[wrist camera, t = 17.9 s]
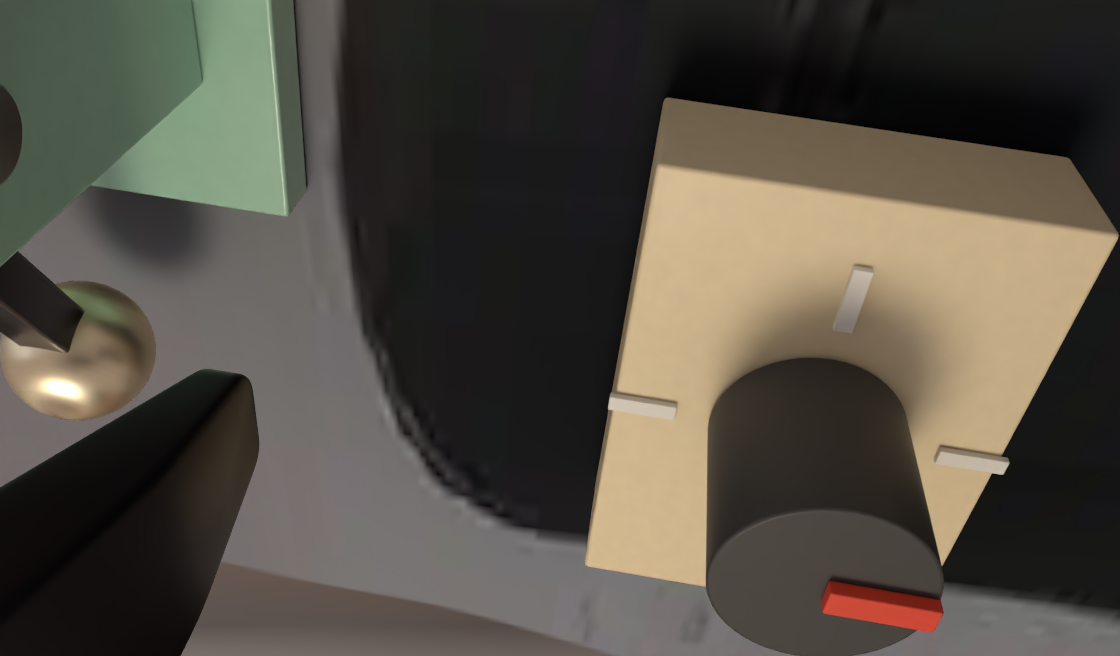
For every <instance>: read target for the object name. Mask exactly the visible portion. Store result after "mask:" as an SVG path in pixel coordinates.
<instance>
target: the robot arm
mask: <svg viewBox="0 0 1120 656" xmlns="http://www.w3.org/2000/svg"><path fill="white" fill-rule="evenodd" d="M258 452H259V436H258V428H257V420H256V412H255V404H254V396H253V389H252V385H251V383H250V381H249V379H248V378H247V377H246V376H244V375H242V374H237V373H231V372H225V371H219V370H212V369H203V370H200V371H197V372H195V373H193V374H192V375H190V376H188V377H187V378H185V379H183V380H181V381H180V382H178V383H176V384H175V385H173V386H171V387H170V388H168V389H166V390H165V391H163V392H161V393H159V394H158V395H156V396H154V397H153V398H151V399H149V400H148V401H146V402H144V403H143V404H141V405H139V406H137V407H136V408H134V409H132V410H131V411H129V412H127V413H126V414H124V415H122V416H120V417H119V418H117V419H115V420H114V421H112V422H110V423H109V424H107V425H105V426H104V427H102V428H100V429H98V430H97V431H95V432H93V433H92V434H90V435H88V436H87V437H85V438H83V439H82V440H80V441H78V442H76V443H75V444H73V445H71V446H70V447H68V448H66V449H65V450H63V451H61V452H59V453H58V454H56V455H54V456H53V457H51V458H49V459H48V460H46V461H44V462H43V463H41V464H39V465H37V466H36V467H34V468H32V469H31V470H29V471H27V472H26V473H24V474H22V475H21V476H19V477H17V478H15V479H14V480H12V481H10V482H9V483H7V484H5V485H4V486H2V487H0V656H181V654H182V652H183V650H184V648H185V646H186V644H187V642H188V640H189V638H190V636H191V634H192V631H193V629H194V627H195V625H196V623H197V621H198V619H199V616H200V614H201V612H202V609H203V607H204V604H205V601H206V599H207V596H208V594H209V591H210V589H211V586H212V583H213V581H214V578H215V575H216V572H217V570H218V567H219V564H220V562H221V559H222V556H223V553H224V551H225V548H226V545H227V543H228V540H229V537H230V534H231V532H232V529H233V526H234V523H235V521H236V518H237V515H238V512H239V510H240V507H241V504H242V502H243V499H244V496H245V493H246V491H247V488H248V485H249V482H250V480H251V477H252V474H253V472H254V469H255V466H256V462H257V458H258Z"/></svg>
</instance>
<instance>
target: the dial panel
mask: <svg viewBox="0 0 1120 656" xmlns="http://www.w3.org/2000/svg"><path fill="white" fill-rule="evenodd" d="M1117 240H1118V232H1117V231H1116V229H1115V227H1114V226H1113V224H1112V223H1111V221H1110V220H1109V218H1108V217H1107V215H1106V214H1105V212H1104V211H1103V209H1102V208H1101V206H1100V204H1099V203H1098V201H1097V200H1096V198H1095V197H1094V195H1093V194H1092V192H1091V191H1090V189H1089V188H1088V186H1087V184H1086V183H1085V181H1084V180H1083V178H1082V177H1081V175H1080V174H1079V172H1078V171H1077V169H1076V168H1075V166H1074V164H1073V163H1072V161H1071V160H1070V159H1069V158H1067V157H1061V156H1054V155H1048V154H1041V153H1034V152H1028V151H1021V150H1014V149H1008V148H1001V147H994V146H987V145H981V144H974V143H967V142H961V141H954V140H947V139H941V138H934V137H927V136H921V135H914V134H907V133H901V132H894V131H887V130H881V129H874V128H867V127H861V126H854V125H847V124H841V123H834V122H827V121H821V120H814V119H807V118H801V117H794V116H787V115H781V114H774V113H767V112H761V111H754V110H747V109H741V108H734V107H727V106H721V105H714V104H707V103H701V102H694V101H687V100H681V99H674V98H665V100H664V101H663V107H662V112H661V118H660V124H659V129H658V135H657V141H656V146H655V152H654V157H653V163H652V169H651V174H650V180H649V186H648V191H647V197H646V202H645V208H644V214H643V219H642V225H641V231H640V236H639V242H638V248H637V253H636V259H635V264H634V270H633V276H632V281H631V287H630V293H629V298H628V304H627V309H626V315H625V321H624V326H623V332H622V338H621V343H620V349H619V354H618V360H617V366H616V371H615V377H614V383H613V388H612V393H610V398H609V404H608V410H609V411H608V416H607V422H606V428H605V433H604V439H603V444H602V450H601V456H600V461H599V467H598V473H597V478H596V485H595V492H594V499H593V506H592V513H591V520H590V528H589V535H588V542H587V549H586V556H585V564H586V566H589V567H595V568H601V569H606V570H612V571H618V572H624V573H629V574H635V575H641V576H647V577H653V578H658V579H664V580H670V581H676V582H682V583H687V584H693V585H699V586H705V587H706V518H707V439H708V423H709V418H710V415H711V413H712V410H713V408H714V406H715V405H716V403H717V401H718V400H719V398H720V397H721V396H722V394H723V393H724V392H725V391H726V390H727V389H728V388H729V387H730V386H731V385H732V384H733V383H734V382H736V381H737V380H739V379H740V378H741V377H743V376H744V375H746V374H748V373H750V372H751V371H753V370H755V369H758V368H760V367H763V366H765V365H768V364H771V363H775V362H778V361H783V360H789V359H797V358H824V359H832V360H837V361H842V362H846V363H849V364H852V365H855V366H858V367H860V368H862V369H864V370H866V371H868V372H870V373H872V374H873V375H875V376H876V377H878V378H879V379H880V380H882V381H883V382H884V383H885V384H886V385H888V386H889V387H890V388H891V390H892V391H893V392H894V393H895V394H896V395H897V397H898V399H899V400H900V402H901V403H902V406H903V408H904V410H905V413H906V417H907V421H908V425H909V430H910V434H911V438H912V442H913V447H914V451H915V455H916V459H917V463H918V468H919V472H920V476H921V480H922V485H923V489H924V493H925V497H926V502H927V506H928V510H929V514H930V519H931V523H932V527H933V531H934V535H935V540H936V544H937V548H938V552H939V557H940V561H941V565H943V563H944V562H945V560H946V558H947V556H948V554H949V552H950V550H951V549H952V547H953V545H954V543H955V541H956V539H957V537H958V536H959V534H960V532H961V530H962V528H963V526H964V524H965V523H966V521H967V519H968V517H969V515H970V513H971V511H972V509H973V508H974V506H975V504H976V502H977V500H978V498H979V496H980V495H981V493H982V491H983V489H984V487H985V485H986V483H987V482H988V480H989V478H990V476H991V474H992V473H995V474H1001V475H1003V474H1004V472H1005V470H1006V468H1007V467H1008V465H1009V460H1008V458H1006V457H1001V456H1002V454H1003V452H1004V450H1005V448H1006V446H1007V444H1008V442H1009V441H1010V439H1011V437H1012V435H1013V433H1014V431H1015V429H1016V428H1017V426H1018V424H1019V422H1020V420H1021V418H1022V416H1023V415H1024V413H1025V411H1026V409H1027V407H1028V405H1029V403H1030V402H1031V400H1032V398H1033V396H1034V394H1035V392H1036V390H1037V389H1038V387H1039V385H1040V383H1041V381H1042V379H1043V377H1044V375H1045V374H1046V372H1047V370H1048V368H1049V366H1050V364H1051V362H1052V361H1053V359H1054V357H1055V355H1056V353H1057V351H1058V349H1059V348H1060V346H1061V344H1062V342H1063V340H1064V338H1065V336H1066V335H1067V333H1068V331H1069V329H1070V327H1071V325H1072V323H1073V322H1074V320H1075V318H1076V316H1077V314H1078V312H1079V310H1080V308H1081V307H1082V305H1083V303H1084V301H1085V299H1086V297H1087V295H1088V294H1089V292H1090V290H1091V288H1092V286H1093V284H1094V282H1095V281H1096V279H1097V277H1098V275H1099V273H1100V271H1101V269H1102V268H1103V266H1104V264H1105V262H1106V260H1107V258H1108V256H1109V255H1110V253H1111V251H1112V249H1113V247H1114V245H1115V243H1116V241H1117Z"/></svg>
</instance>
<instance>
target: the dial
mask: <svg viewBox="0 0 1120 656" xmlns="http://www.w3.org/2000/svg"><path fill="white" fill-rule="evenodd" d="M943 588H944V575H943V570H942V565H941V561H940V557H939V552H938V548H937V544H936V540H935V535H934V531H933V527H932V523H931V519H930V514H929V510H928V506H927V502H926V497H925V493H924V489H923V485H922V480H921V476H920V472H919V468H918V463H917V459H916V455H915V451H914V447H913V442H912V438H911V434H910V430H909V425H908V421H907V417H906V413H905V410H904V408H903V406H902V403H901V402H900V400H899V399H898V397H897V395H896V394H895V393H894V392H893V391H892V390H891V388H890V387H889V386H888V385H886V384H885V383H884V382H883V381H882V380H880V379H879V378H878V377H876V376H875V375H873V374H872V373H870V372H868V371H866V370H864V369H862V368H860V367H858V366H855V365H852V364H849V363H846V362H842V361H837V360H832V359H824V358H797V359H789V360H783V361H778V362H775V363H771V364H768V365H765V366H763V367H760V368H758V369H755V370H753V371H751V372H750V373H748V374H746V375H744V376H743V377H741V378H740V379H739V380H737V381H736V382H734V383H733V384H732V385H731V386H730V387H729V388H728V389H727V390H726V391H725V392H724V393H723V394H722V396H721V397H720V398H719V400H718V401H717V403H716V405H715V406H714V408H713V410H712V413H711V415H710V418H709V423H708V439H707V518H706V589H707V594H708V597H709V599H710V601H711V604H712V606H713V607H714V609H715V611H716V612H717V614H718V615H719V616H720V617H721V619H722V620H723V621H724V622H725V623H726V624H727V625H728V626H730V627H731V628H732V629H733V630H734V631H736V632H737V633H739V634H740V635H742V636H743V637H745V638H747V639H749V640H750V641H752V642H754V643H757V644H759V645H761V646H764V647H766V648H769V649H773V650H776V651H779V652H783V653H788V654H792V655H799V656H853V655H858V654H864V653H868V652H872V651H876V650H879V649H882V648H884V647H887V646H890V645H892V644H894V643H897V642H899V641H901V640H903V639H904V638H906V637H908V636H909V635H911V634H912V633H914V632H915V631H916V630H921V631H926V632H933V631H934V630H935V628H936V626H937V624H938V623H939V621H940V619H941V617H942V616H943V608H942V604H941V601H940V600H941V597H942V592H943Z"/></svg>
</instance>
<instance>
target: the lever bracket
mask: <svg viewBox="0 0 1120 656" xmlns="http://www.w3.org/2000/svg"><path fill="white" fill-rule="evenodd" d="M89 186H96V187H103V188H109V189H115V190H121V191H128V192H134V193H140V194H147V195H153V196H159V197H166V198H172V199H178V200H185V201H191V202H197V203H204V204H210V205H216V206H223V207H229V208H235V209H241V210H248V211H254V212H260V213H267V214H273V215H279V216H289V214H290V213H291V212H292V210H293V209H294V208H295V206H296V205H297V203H298V202H299V201H300V199H301V198H302V196H303V195H304V194H305V192H306V179H305V165H304V150H303V136H302V122H301V107H300V93H299V79H298V64H297V50H296V36H295V21H294V7H293V0H0V267H1V266H2V265H3V264H4V263H5V262H6V261H7V260H8V259H10V258H11V257H12V256H13V255H14V254H15V253H16V252H17V251H18V250H20V249H21V248H22V247H23V246H24V245H25V244H26V243H27V242H28V241H29V240H31V239H32V238H33V237H34V236H35V235H36V234H37V233H38V232H39V231H41V230H42V229H43V228H44V227H45V226H46V225H47V224H48V223H49V222H50V221H52V220H53V219H54V218H55V217H56V216H57V215H58V214H59V213H60V212H62V211H63V210H64V209H65V208H66V207H67V206H68V205H69V204H70V203H72V202H73V201H74V200H75V199H76V198H77V197H78V196H79V195H80V194H81V193H83V192H84V191H85V190H86V189H87V188H88V187H89Z"/></svg>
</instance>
